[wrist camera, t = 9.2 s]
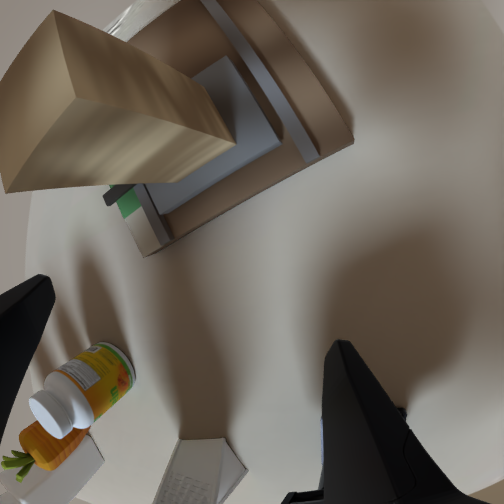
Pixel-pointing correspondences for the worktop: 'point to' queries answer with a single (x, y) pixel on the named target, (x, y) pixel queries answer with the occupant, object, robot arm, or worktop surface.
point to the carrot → (42, 449)
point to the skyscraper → (200, 473)
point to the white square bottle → (53, 478)
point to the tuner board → (265, 91)
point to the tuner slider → (122, 118)
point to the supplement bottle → (82, 389)
